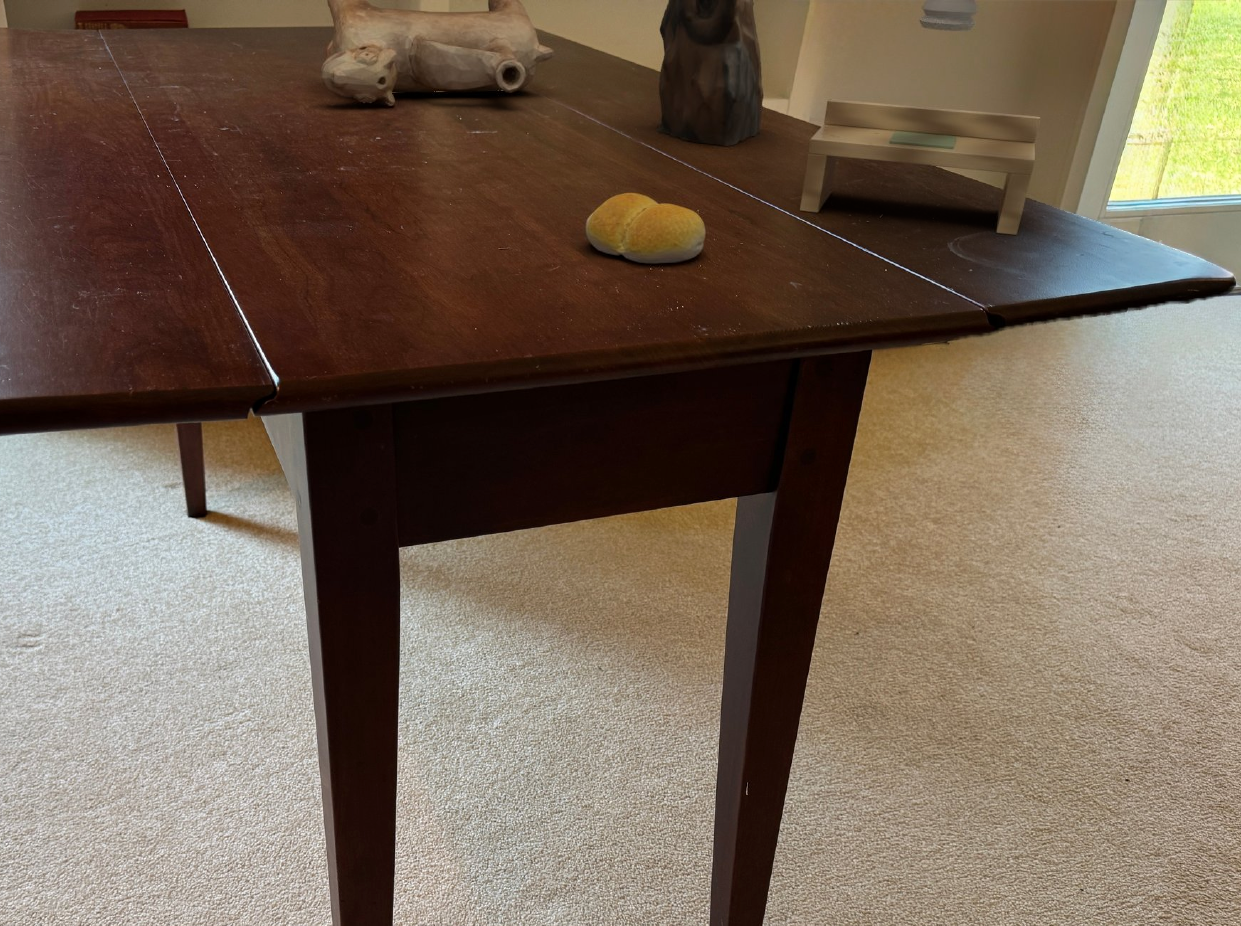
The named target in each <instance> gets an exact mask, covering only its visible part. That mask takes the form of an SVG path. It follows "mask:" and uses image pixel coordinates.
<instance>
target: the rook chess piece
mask: <svg viewBox="0 0 1241 926" xmlns="http://www.w3.org/2000/svg"><path fill="white" fill-rule="evenodd" d="M921 8H922V10H923V12H924V16H922V17H921V18H920V19H919V20H918V21H919V23H920V25H921V27H922V28H924V29H928V30H938V31H952V32H953V31H954V32H964V31H965V32H966V31H967V32H968V31H971V30H972V29H973V28H974V27H975V25H976V24H977V22H976V21H975V20H974V18H973V17H974V16H975V15H976V14H977V13H978V12H979V7H978V4H977V2H976V1H975V0H926V1H925V2H924V3H923V5H922V7H921Z"/></svg>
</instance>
